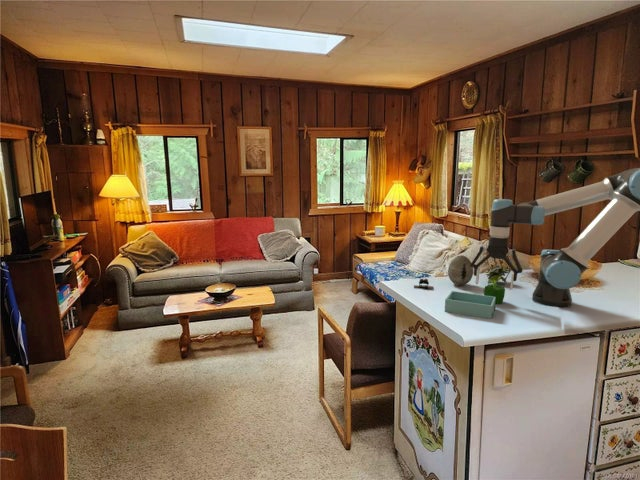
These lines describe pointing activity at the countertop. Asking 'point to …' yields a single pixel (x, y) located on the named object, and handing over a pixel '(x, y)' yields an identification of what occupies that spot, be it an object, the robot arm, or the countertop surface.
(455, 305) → the green planter box
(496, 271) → the green leafy plant
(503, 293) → the bell pepper
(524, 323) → the countertop surface
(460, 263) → the decorative egg
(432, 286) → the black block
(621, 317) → the countertop surface
